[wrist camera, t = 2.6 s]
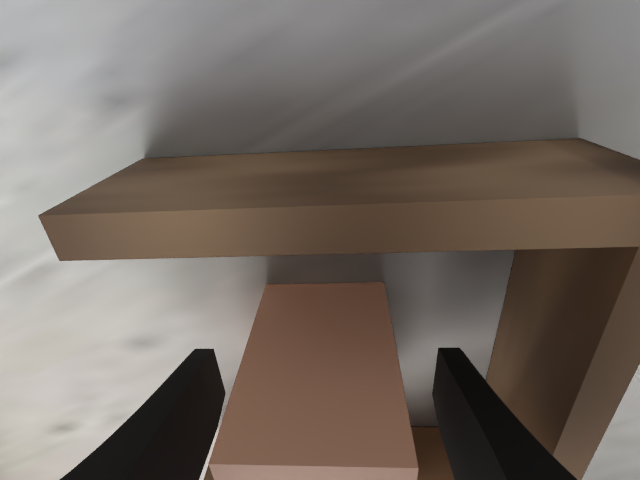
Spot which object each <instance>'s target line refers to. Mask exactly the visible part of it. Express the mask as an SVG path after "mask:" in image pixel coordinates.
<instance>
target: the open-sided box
mask: <svg viewBox="0 0 640 480" xmlns="http://www.w3.org/2000/svg"><path fill="white" fill-rule="evenodd" d="M38 216H39V218H40V220H41V223H42V225H43V227H44V229H45V231H46V233H47V235H48V237H49V240H50V242H51V244H52V246H53V248H54V250H55V252H56V254H57V257H58V259H59V261H73V260H114V259H154V258H195V257H236V256H277V255H318V254H358V253H399V252H440V251H481V250H516V252H515V256H514V261H513V265H512V269H511V274H510V278H509V283H508V287H507V291H506V296H505V300H504V304H503V309H502V313H501V318H500V322H499V326H498V331H497V335H496V339H495V344H494V348H493V353H492V357H491V361H490V366H489V370H488V374H487V379H486V382H487V383H488V384H489V386H490V387H491V388H492V389H493V391H494V392H495V393H496V394H497V395H498V397H499V398H500V399H501V400H502V401H503V402H504V404H505V405H506V406H507V407H508V408H509V409H510V410H511V412H512V413H513V414H514V415H515V416H516V417H517V418H518V420H519V421H520V422H521V423H522V424H523V425H524V426H525V427H526V428H527V429H528V430H529V432H530V433H531V434H532V435H533V436H534V437H535V438H536V439H537V440H538V441H539V442H540V443H541V444H542V445H543V446H544V447H545V448H546V449H547V450H548V451H549V452H550V453H551V454H552V455H553V456H554V457H555V458H556V459H557V460H558V461H559V462H560V463H561V464H562V465H563V466H564V467H565V468H566V469H567V470H568V471H569V472H570V473H571V474H572V475H573V476H574V477H575V478H576V479H577V480H581V479H582V477H583V475H584V473H585V471H586V469H587V467H588V465H589V463H590V461H591V459H592V457H593V455H594V453H595V451H596V449H597V447H598V445H599V443H600V441H601V439H602V437H603V435H604V433H605V431H606V429H607V427H608V425H609V423H610V422H611V420H612V418H613V416H614V414H615V412H616V410H617V408H618V406H619V404H620V402H621V400H622V398H623V396H624V394H625V392H626V390H627V388H628V386H629V384H630V382H631V380H632V378H633V376H634V374H635V372H636V370H637V368H638V366H639V364H640V160H638V159H636V158H633V157H630V156H627V155H625V154H622V153H619V152H617V151H614V150H611V149H608V148H606V147H603V146H600V145H597V144H595V143H592V142H589V141H587V140H584V139H581V138H578V139H556V140H535V141H513V142H491V143H470V144H448V145H427V146H405V147H384V148H362V149H341V150H319V151H297V152H276V153H254V154H233V155H211V156H190V157H168V158H147V159H141V160H139V161H137V162H136V163H134V164H132V165H130V166H128V167H126V168H125V169H123V170H121V171H119V172H117V173H115V174H114V175H112V176H110V177H108V178H106V179H104V180H103V181H101V182H99V183H97V184H95V185H93V186H92V187H90V188H88V189H86V190H84V191H82V192H81V193H79V194H77V195H75V196H73V197H71V198H70V199H68V200H66V201H64V202H62V203H60V204H58V205H57V206H55V207H53V208H51V209H49V210H47V211H46V212H44V213H42V214H40V215H38ZM411 430H412V436H413V441H414V446H415V452H416V457H417V463H418V468H419V469H418V477H417V480H455V479H454V475H453V472H452V469H451V466H450V463H449V459H448V456H447V453H446V450H445V446H444V443H443V440H442V436H441V433H440V430H439V427H411ZM204 480H214V478H213V476H212V473H211V470H210V467H209V465H208V468H207V471H206V474H205V478H204Z"/></svg>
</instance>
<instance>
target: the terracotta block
mask: <svg viewBox="0 0 640 480" xmlns="http://www.w3.org/2000/svg"><path fill="white" fill-rule="evenodd" d="M209 467H210V470H211V473H212V476H213V478H214V480H417V477H418V469H419V468H418V463H417V457H416V452H415V446H414V441H413V436H412V430H411V425H410V419H409V414H408V409H407V403H406V398H405V392H404V387H403V382H402V376H401V371H400V365H399V360H398V355H397V349H396V344H395V339H394V333H393V328H392V322H391V317H390V312H389V306H388V301H387V295H386V290H385V285H384V282H374V283H318V284H266V286H265V289H264V292H263V295H262V298H261V302H260V305H259V308H258V311H257V314H256V317H255V320H254V323H253V327H252V330H251V333H250V336H249V339H248V342H247V345H246V348H245V352H244V355H243V358H242V361H241V364H240V367H239V370H238V373H237V377H236V380H235V383H234V386H233V389H232V392H231V395H230V398H229V402H228V405H227V408H226V411H225V414H224V417H223V420H222V423H221V427H220V430H219V433H218V436H217V439H216V442H215V445H214V448H213V452H212V455H211V458H210V461H209Z"/></svg>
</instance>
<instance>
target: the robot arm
mask: <svg viewBox="0 0 640 480" xmlns="http://www.w3.org/2000/svg"><path fill="white" fill-rule="evenodd" d="M432 394H433V400H434V405H435V410H436V415H437V420H438V425H439V430H440V433H441V436H442V440H443V443H444V446H445V450H446V453H447V456H448V459H449V463H450V466H451V469H452V472H453V475H454V479H455V480H577V479H576V478H575V477H574V476H573V475H572V474H571V473H570V472H569V471H568V470H567V469H566V468H565V467H564V466H563V465H562V464H561V463H560V462H559V461H558V460H557V459H556V458H555V457H554V456H553V455H552V454H551V453H550V452H549V451H548V450H547V449H546V448H545V447H544V446H543V445H542V444H541V443H540V442H539V441H538V440H537V439H536V438H535V437H534V436H533V435H532V434H531V433H530V432H529V430H528V429H527V428H526V427H525V426H524V425H523V424H522V423H521V422H520V421H519V420H518V418H517V417H516V416H515V415H514V414H513V413H512V412H511V410H510V409H509V408H508V407H507V406H506V405H505V404H504V402H503V401H502V400H501V399H500V398H499V397H498V395H497V394H496V393H495V392H494V391H493V389H492V388H491V387H490V386H489V384H488V383H487V382H486V381H485V379H484V378H483V377H482V376H481V375H480V373H479V372H478V371H477V369H476V368H475V367H474V366H473V364H472V363H471V362H470V360H469V359H468V358H467V356H466V355H465V354H464V352H463V351H462V350H461V349H460V348H438V355H437V363H436V370H435V378H434V385H433V393H432ZM224 397H225V390H224V386H223V382H222V379H221V375H220V371H219V367H218V364H217V360H216V356H215V353H214V349H195V350H194V351H193V352H192V353H191V354H190V355H189V356H188V357H187V358H186V359H185V360H184V361H183V362H182V363H181V364H180V365H179V367H178V368H177V369H176V370H175V371H174V372H173V373H172V374H171V375H170V376H169V377H168V379H167V380H166V381H165V382H164V383H163V384H162V385H161V386H160V387H159V388H158V389H157V390H156V391H155V392H154V393H153V394H152V395H151V397H150V398H149V399H148V400H147V401H146V402H145V403H144V404H143V405H142V406H141V407H140V408H139V409H138V410H137V411H136V412H135V413H134V414H133V415H132V416H131V417H130V418H129V419H128V420H127V421H126V422H125V423H124V424H123V425H122V426H121V427H120V428H118V429H117V430H116V431H115V432H114V433H113V434H112V435H111V436H110V437H109V438H108V439H107V440H106V441H105V442H104V443H103V444H101V445H100V446H99V447H98V448H97V449H96V450H95V451H94V452H92V453H91V454H90V455H89V456H88V457H87V458H85V459H84V460H83V461H82V462H81V463H80V464H78V465H77V466H76V467H75V468H74V469H73V470H71V471H70V472H69V473H68V474H66V475H65V476H64V477H63V478H61V479H60V480H199V478H200V475H201V472H202V470H203V467H204V464H205V461H206V458H207V456H208V453H209V450H210V447H211V444H212V441H213V438H214V436H215V433H216V430H217V427H218V423H219V419H220V415H221V411H222V406H223V402H224Z"/></svg>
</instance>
